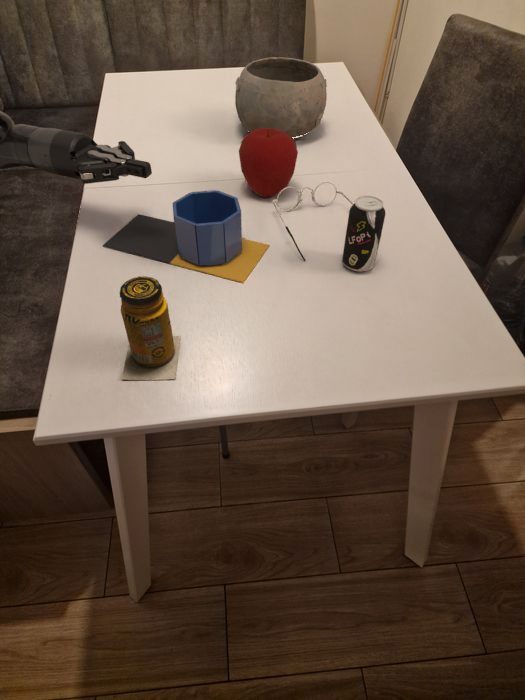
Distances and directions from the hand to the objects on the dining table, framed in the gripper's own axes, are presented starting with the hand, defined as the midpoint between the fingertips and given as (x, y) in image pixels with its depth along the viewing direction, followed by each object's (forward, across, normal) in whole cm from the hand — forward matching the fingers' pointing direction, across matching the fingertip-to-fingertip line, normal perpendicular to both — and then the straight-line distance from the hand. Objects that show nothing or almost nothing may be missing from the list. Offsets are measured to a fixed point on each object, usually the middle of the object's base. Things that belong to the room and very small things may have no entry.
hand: (148, 170), depth 80 cm
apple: (+11, +25, +14) cm, 31 cm away
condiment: (+14, -26, +14) cm, 33 cm away
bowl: (+2, +56, +13) cm, 58 cm away
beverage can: (+36, +7, +14) cm, 39 cm away
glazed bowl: (+10, +1, +13) cm, 17 cm away
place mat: (+5, 0, +14) cm, 15 cm away
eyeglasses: (+26, +15, +14) cm, 33 cm away
